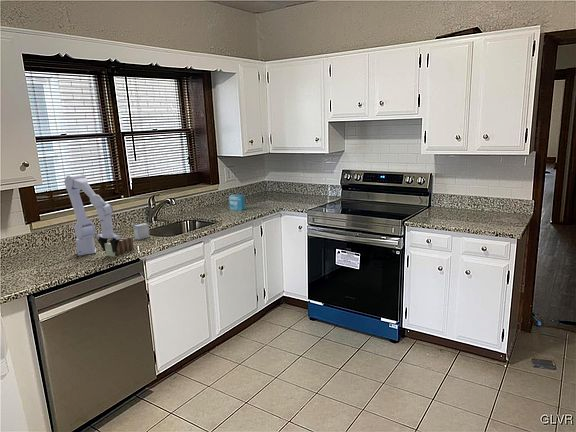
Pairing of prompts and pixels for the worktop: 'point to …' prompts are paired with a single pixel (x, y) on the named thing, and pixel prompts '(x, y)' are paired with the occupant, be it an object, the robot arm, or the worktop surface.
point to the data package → (237, 202)
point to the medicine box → (141, 231)
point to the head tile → (130, 242)
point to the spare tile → (109, 250)
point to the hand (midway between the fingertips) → (110, 251)
